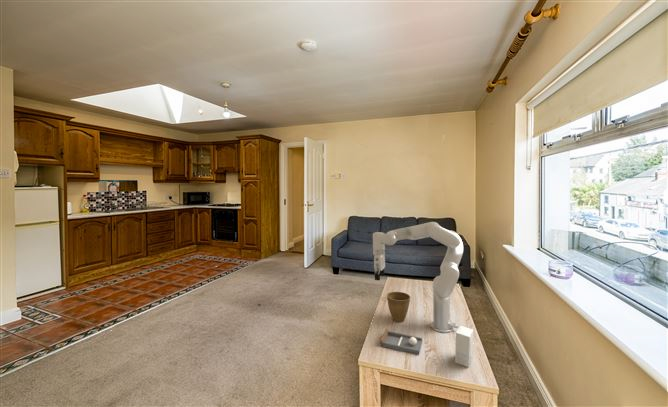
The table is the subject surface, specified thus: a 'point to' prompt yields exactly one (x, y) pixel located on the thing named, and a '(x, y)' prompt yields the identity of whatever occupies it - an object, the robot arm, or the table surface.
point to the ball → (412, 341)
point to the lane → (400, 342)
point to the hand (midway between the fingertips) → (379, 277)
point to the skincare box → (464, 346)
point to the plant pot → (398, 305)
